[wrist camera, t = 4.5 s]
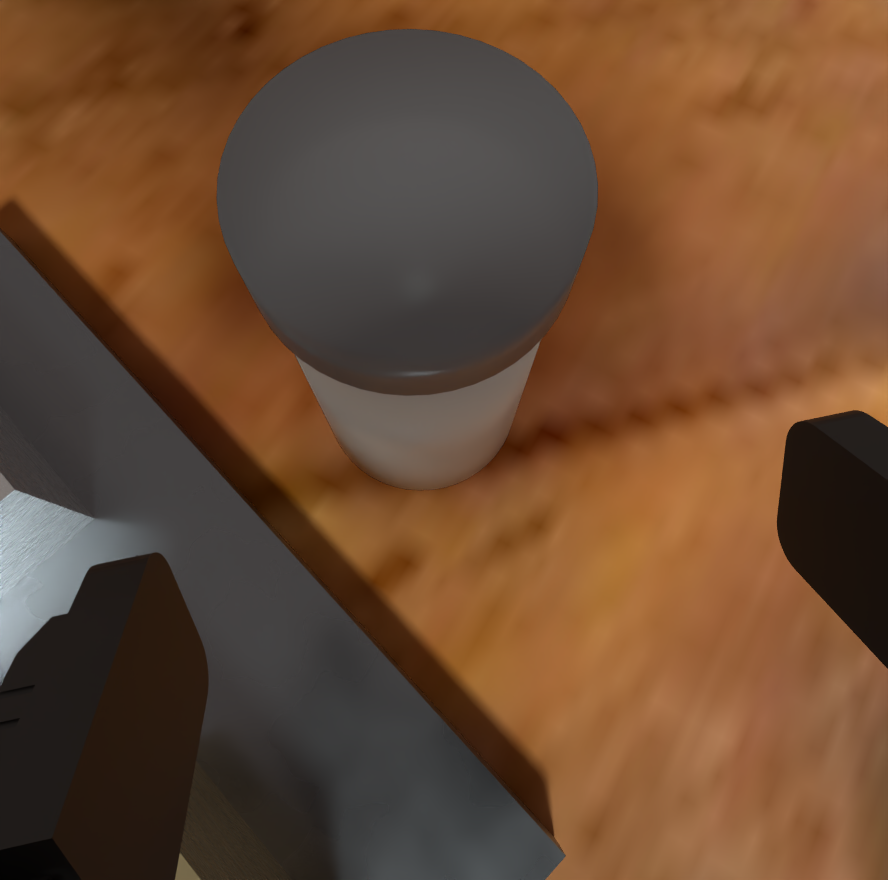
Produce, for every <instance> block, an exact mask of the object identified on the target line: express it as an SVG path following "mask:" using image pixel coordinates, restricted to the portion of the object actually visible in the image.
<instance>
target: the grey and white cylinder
mask: <svg viewBox="0 0 888 880" xmlns="http://www.w3.org/2000/svg"><path fill="white" fill-rule="evenodd" d="M597 199H598V182H597V174H596V167H595V161H594V158H593V154H592V151H591V147H590V144H589V141H588V139H587V137H586V135H585V132H584V130H583V128H582V126H581V124H580V122H579V120H578V119H577V117H576V116H575V114H574V112H573V111H572V109H571V108H570V106H569V105H568V103H567V102H566V101H565V100H564V99H563V97H562V96H561V95H560V94H559V93H558V91H557V90H556V89H555V88H554V87H553V86H552V85H551V84H550V83H548V82H547V81H546V80H545V79H544V78H543V77H542V76H541V75H540V74H539V73H537V72H536V71H534V70H533V69H532V68H530V67H529V66H528V65H526V64H525V63H523V62H522V61H520V60H519V59H517V58H515V57H513V56H511V55H510V54H508V53H506V52H504V51H503V50H500V49H498V48H496V47H493V46H491V45H488V44H486V43H484V42H481V41H478V40H475V39H471V38H468V37H464V36H461V35H457V34H451V33H445V32H440V31H432V30H418V29H403V30H386V31H378V32H371V33H365V34H361V35H357V36H353V37H349V38H345V39H342V40H340V41H337V42H334V43H331V44H329V45H326V46H323V47H321V48H319V49H317V50H315V51H313V52H311V53H309V54H307V55H305V56H303V57H302V58H300V59H298V60H297V61H295V62H294V63H292V64H291V65H289V66H288V67H286V68H285V69H283V70H282V71H281V72H280V73H278V74H277V75H276V76H275V77H274V78H272V79H271V80H270V81H269V82H268V83H267V84H266V85H265V86H264V87H263V88H262V89H261V90H260V91H259V92H258V93H257V94H256V95H255V96H254V97H253V99H252V100H251V101H250V103H249V104H248V105H247V107H246V108H245V110H244V111H243V112H242V114H241V115H240V117H239V118H238V120H237V122H236V124H235V126H234V128H233V130H232V132H231V133H230V135H229V138H228V141H227V143H226V146H225V149H224V152H223V155H222V158H221V163H220V168H219V173H218V181H217V207H218V216H219V222H220V226H221V230H222V234H223V237H224V241H225V244H226V246H227V248H228V251H229V253H230V255H231V257H232V260H233V262H234V264H235V266H236V268H237V270H238V271H239V273H240V275H241V277H242V279H243V281H244V283H245V285H246V286H247V288H248V290H249V292H250V294H251V296H252V298H253V299H254V301H255V303H256V305H257V307H258V309H259V311H260V312H261V314H262V316H263V317H264V319H265V320H266V322H267V324H268V325H269V327H270V328H271V330H272V331H273V332H274V333H275V334H276V336H277V337H278V338H279V339H280V340H281V342H282V343H283V344H284V345H285V346H286V347H287V348H288V349H289V350H291V351H292V352H293V353H294V354H295V356H296V358H297V360H298V362H299V364H300V366H301V368H302V370H303V372H304V374H305V376H306V378H307V380H308V383H309V385H310V387H311V389H312V391H313V393H314V395H315V397H316V399H317V401H318V403H319V405H320V407H321V409H322V411H323V413H324V415H325V417H326V419H327V421H328V423H329V425H330V427H331V429H332V431H333V433H334V435H335V437H336V439H337V441H338V443H339V445H340V446H341V448H342V449H343V451H344V452H345V454H346V455H347V456H348V457H349V458H350V460H351V461H352V462H353V463H354V464H355V465H356V466H357V467H359V468H360V469H361V470H362V471H364V472H365V473H366V474H368V475H369V476H371V477H373V478H374V479H376V480H378V481H380V482H382V483H385V484H388V485H391V486H394V487H398V488H402V489H408V490H434V489H440V488H445V487H448V486H451V485H454V484H457V483H459V482H462V481H464V480H466V479H468V478H470V477H471V476H473V475H474V474H476V473H478V472H479V471H480V470H481V469H483V468H484V467H485V466H486V465H487V464H488V463H489V462H490V461H491V460H492V459H493V458H494V457H495V456H496V454H497V453H498V452H499V450H500V449H501V447H502V446H503V444H504V442H505V440H506V438H507V436H508V434H509V431H510V428H511V425H512V422H513V419H514V416H515V414H516V411H517V408H518V405H519V402H520V399H521V396H522V393H523V390H524V387H525V384H526V382H527V379H528V376H529V373H530V370H531V367H532V364H533V361H534V358H535V355H536V352H537V350H538V347H539V344H540V341H541V339H542V338H543V337H544V336H545V335H546V334H547V332H548V331H549V329H550V328H551V326H552V325H553V324H554V322H555V321H556V319H557V318H558V316H559V314H560V312H561V310H562V308H563V307H564V305H565V303H566V301H567V298H568V296H569V293H570V291H571V288H572V285H573V283H574V280H575V277H576V275H577V272H578V270H579V267H580V264H581V262H582V259H583V256H584V254H585V251H586V248H587V245H588V243H589V240H590V237H591V234H592V231H593V228H594V222H595V217H596V211H597Z"/></svg>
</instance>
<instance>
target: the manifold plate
mask: <svg viewBox="0 0 888 880" xmlns="http://www.w3.org/2000/svg"><path fill="white" fill-rule="evenodd" d="M155 552H158V553H160V554H161V555H163V556H164V558H165V559H166V560H167V562H168V564H169V566H170V568H171V570H172V573H173V575H174V577H175V580H176V582H177V584H178V587H179V589H180V591H181V594H182V596H183V598H184V601H185V603H186V605H187V608H188V610H189V612H190V615H191V617H192V619H193V622H194V624H195V626H196V629H197V631H198V633H199V636H200V638H201V640H202V643H203V646H204V649H205V654H206V658H207V664H208V675H209V687H208V696H207V702H206V708H205V713H204V719H203V725H202V730H201V736H200V741H199V747H198V753H197V758H196V764H195V770H194V775H193V781H192V787H191V792H190V798H189V804H188V809H187V815H186V820H185V826H184V832H183V837H182V843H181V849H180V854H179V860H178V866H177V871H176V877H175V880H545V879H546V878H547V877H548V876H549V875H550V874H551V872H552V871H553V870H554V869H555V868H556V867H557V865H558V864H559V863H560V862H561V861H562V860H563V859H564V857H565V856H566V855H565V854H564V852H563V850H562V849H561V847H560V845H559V844H558V842H557V840H556V839H555V837H554V836H553V835H552V834H551V833H550V832H549V831H548V830H547V829H546V828H545V826H544V825H543V824H542V823H541V822H540V821H539V820H538V819H537V818H536V816H535V815H534V814H533V813H532V812H531V811H530V810H529V809H528V808H527V807H526V805H525V804H524V803H523V802H522V801H521V800H520V799H519V798H518V797H517V796H516V794H515V793H514V792H513V791H512V790H511V789H510V788H509V787H508V786H507V785H506V783H505V782H504V781H503V780H502V779H501V778H500V777H499V776H498V775H497V774H496V772H495V771H494V770H493V769H492V768H491V767H490V766H489V765H488V764H487V762H486V761H485V760H484V759H483V758H482V757H481V756H480V755H479V754H478V753H477V751H476V750H475V749H474V748H473V747H472V746H471V745H470V744H469V743H468V742H467V740H466V739H465V738H464V737H463V736H462V735H461V734H460V733H459V732H458V731H457V729H456V728H455V727H454V726H453V725H452V724H451V723H450V722H449V721H448V720H447V718H446V717H445V716H444V715H443V714H442V713H441V712H440V711H439V710H438V708H437V707H436V706H435V705H434V704H433V703H432V702H431V701H430V700H429V699H428V697H427V696H426V695H425V694H424V693H423V692H422V691H421V690H420V689H419V688H418V686H417V685H416V684H415V683H414V682H413V681H412V680H411V679H410V678H409V677H408V675H407V674H406V673H405V672H404V671H403V670H402V669H401V668H400V667H399V666H398V664H397V663H396V662H395V661H394V660H393V659H392V658H391V657H390V656H389V655H388V653H387V652H386V651H385V650H384V649H383V648H382V647H381V646H380V645H379V643H378V642H377V641H376V640H375V639H374V638H373V637H372V636H371V635H370V634H369V632H368V631H367V630H366V629H365V628H364V627H363V626H362V625H361V624H360V623H359V621H358V620H357V619H356V618H355V617H354V616H353V615H352V614H351V613H350V612H349V610H348V609H347V608H346V607H345V606H344V605H343V604H342V603H341V602H340V601H339V599H338V598H337V597H336V596H335V595H334V594H333V593H332V592H331V591H330V589H329V588H328V587H327V586H326V585H325V584H324V583H323V582H322V581H321V580H320V578H319V577H318V576H317V575H316V574H315V573H314V572H313V571H312V570H311V569H310V567H309V566H308V565H307V564H306V563H305V562H304V561H303V560H302V559H301V558H300V556H299V555H298V554H297V553H296V552H295V551H294V550H293V549H292V548H291V547H290V545H289V544H288V543H287V542H286V541H285V540H284V539H283V538H282V537H281V536H280V534H279V533H278V532H277V531H276V530H275V529H274V528H273V527H272V526H271V524H270V523H269V522H268V521H267V520H266V519H265V518H264V517H263V516H262V515H261V513H260V512H259V511H258V510H257V509H256V508H255V507H254V506H253V505H252V504H251V502H250V501H249V500H248V499H247V498H246V497H245V496H244V495H243V494H242V493H241V491H240V490H239V489H238V488H237V487H236V486H235V485H234V484H233V483H232V482H231V480H230V479H229V478H228V477H227V476H226V475H225V474H224V473H223V472H222V470H221V469H220V468H219V467H218V466H217V465H216V464H215V463H214V462H213V461H212V459H211V458H210V457H209V456H208V455H207V454H206V453H205V452H204V451H203V450H202V448H201V447H200V446H199V445H198V444H197V443H196V442H195V441H194V440H193V439H192V437H191V436H190V435H189V434H188V433H187V432H186V431H185V430H184V429H183V428H182V426H181V425H180V424H179V423H178V422H177V421H176V420H175V419H174V418H173V417H172V415H171V414H170V413H169V412H168V411H167V410H166V409H165V408H164V407H163V405H162V404H161V403H160V402H159V401H158V400H157V399H156V398H155V397H154V396H153V394H152V393H151V392H150V391H149V390H148V389H147V388H146V387H145V386H144V385H143V383H142V382H141V381H140V380H139V379H138V378H137V377H136V376H135V375H134V374H133V372H132V371H131V370H130V369H129V368H128V367H127V366H126V365H125V364H124V363H123V361H122V360H121V359H120V358H119V357H118V356H117V355H116V354H115V353H114V351H113V350H112V349H111V348H110V347H109V346H108V345H107V344H106V343H105V342H104V340H103V339H102V338H101V337H100V336H99V335H98V334H97V333H96V332H95V331H94V329H93V328H92V327H91V326H90V325H89V324H88V323H87V322H86V321H85V320H84V318H83V317H82V316H81V315H80V314H79V313H78V312H77V311H76V310H75V309H74V307H73V306H72V305H71V304H70V303H69V302H68V301H67V300H66V299H65V297H64V296H63V295H62V294H61V293H60V292H59V291H58V290H57V289H56V288H55V286H54V285H53V284H52V283H51V282H50V281H49V280H48V279H47V278H46V277H45V275H44V274H43V273H42V272H41V271H40V270H39V269H38V268H37V267H36V266H35V264H34V263H33V262H32V261H31V260H30V259H29V258H28V257H27V256H26V255H25V253H24V252H23V251H22V250H21V249H20V248H19V247H18V246H17V245H16V244H15V242H14V241H13V240H12V239H11V238H10V237H9V236H8V235H7V234H6V233H5V232H3V231H2V230H1V229H0V685H1V683H2V681H3V679H4V677H5V675H6V673H7V671H8V669H9V668H10V666H11V664H12V662H13V660H14V658H15V656H16V654H17V653H18V652H19V651H20V649H21V648H22V647H23V646H24V645H25V644H26V643H27V642H28V641H29V640H30V639H31V638H32V637H33V636H34V635H35V634H36V633H37V632H38V631H39V630H40V629H41V627H42V626H43V625H44V624H45V623H46V622H47V621H48V620H49V619H50V618H51V617H53V616H58V615H63V614H67V613H68V612H69V610H70V607H71V605H72V603H73V601H74V599H75V596H76V594H77V592H78V590H79V588H80V586H81V583H82V581H83V579H84V577H85V575H86V573H87V571H88V570H89V568H90V567H91V566H93V565H96V564H101V563H106V562H111V561H116V560H121V559H125V558H130V557H135V556H140V555H145V554H150V553H155Z"/></svg>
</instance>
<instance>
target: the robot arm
mask: <svg viewBox="0 0 888 880" xmlns="http://www.w3.org/2000/svg"><path fill="white" fill-rule="evenodd" d="M777 530H778V536H779V540H780V543H781V546H782V549H783V551H784V553H785V555H786V557H787V559H788V561H789V562H790V564H791V565H792V566H793V567H794V569H795V570H796V571H797V572H798V573H799V574H800V575H801V576H802V577H803V578H804V579H805V580H806V582H807V583H808V584H809V585H810V586H811V587H812V588H813V589H814V590H815V591H816V592H817V593H818V594H819V595H820V597H821V598H822V599H823V600H824V601H825V602H826V603H827V604H828V605H829V606H830V607H831V608H832V609H833V611H834V612H835V613H836V614H837V615H838V616H839V617H840V618H841V619H842V620H843V621H844V622H845V623H846V624H847V626H848V627H849V628H850V629H851V630H852V631H853V632H854V633H855V634H856V635H857V636H858V637H859V638H860V639H861V641H862V642H863V643H864V644H865V645H866V646H867V647H868V648H869V649H870V650H871V651H872V652H873V653H874V655H875V656H876V657H877V658H878V659H879V660H880V661H881V662H882V663H883V664H884V665H885V666H886V667H887V668H888V427H887V426H885V425H884V424H882V423H881V422H879V421H877V420H876V419H874V418H873V417H871V416H870V415H868V414H866V413H864V412H862V411H856V410H853V411H848V412H844V413H839V414H834V415H829V416H824V417H819V418H814V419H810V420H805V421H800V422H797V423H795V424H794V425H793V426H792V427H791V428H790V430H789V432H788V435H787V439H786V445H785V454H784V463H783V471H782V480H781V489H780V498H779V506H778V515H777ZM208 687H209V675H208V664H207V658H206V654H205V649H204V646H203V643H202V640H201V638H200V636H199V633H198V631H197V629H196V626H195V624H194V622H193V619H192V617H191V615H190V612H189V610H188V608H187V605H186V603H185V601H184V598H183V596H182V594H181V591H180V589H179V587H178V584H177V582H176V580H175V577H174V575H173V573H172V570H171V568H170V566H169V564H168V562H167V560H166V559H165V558H164V556H163V555H161V554H160V553H158V552H155V553H150V554H145V555H140V556H135V557H130V558H125V559H121V560H116V561H111V562H106V563H101V564H96V565H93V566H91V567H90V568H89V570H88V571H87V573H86V575H85V577H84V579H83V581H82V583H81V586H80V588H79V590H78V592H77V594H76V596H75V599H74V601H73V603H72V605H71V607H70V610H69V612H68V613H67V614H63V615H58V616H53V617H51V618H50V619H49V620H48V621H47V622H46V623H45V624H44V625H43V626H42V627H41V629H40V630H39V631H38V632H37V633H36V634H35V635H34V636H33V637H32V638H31V639H30V640H29V641H28V642H27V643H26V644H25V645H24V646H23V647H22V648H21V649H20V651H19V652H18V653H17V654H16V656H15V658H14V660H13V662H12V664H11V666H10V668H9V669H8V671H7V673H6V675H5V677H4V679H3V681H2V683H1V685H0V880H175V877H176V871H177V866H178V860H179V854H180V849H181V843H182V837H183V832H184V826H185V820H186V815H187V809H188V804H189V798H190V792H191V787H192V781H193V775H194V770H195V764H196V758H197V753H198V747H199V741H200V736H201V730H202V725H203V719H204V713H205V708H206V702H207V696H208Z"/></svg>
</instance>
